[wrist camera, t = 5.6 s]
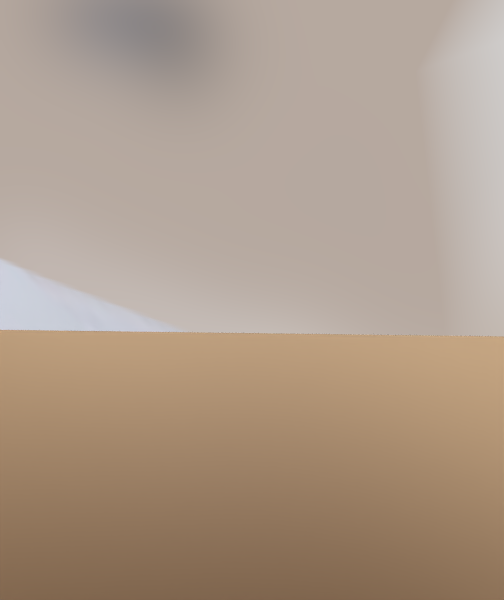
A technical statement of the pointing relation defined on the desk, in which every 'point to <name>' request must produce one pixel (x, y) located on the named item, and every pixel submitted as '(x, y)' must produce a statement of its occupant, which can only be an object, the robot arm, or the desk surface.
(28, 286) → the desk surface
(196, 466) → the oak block
